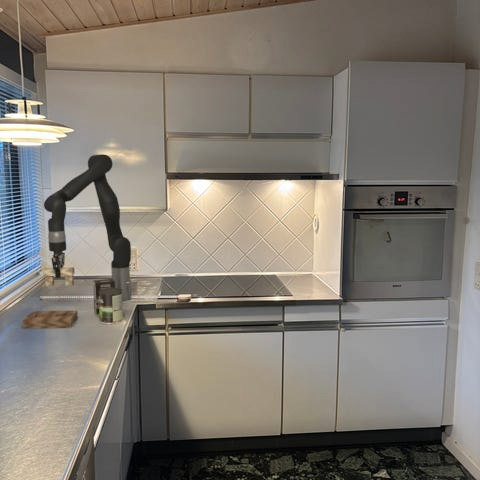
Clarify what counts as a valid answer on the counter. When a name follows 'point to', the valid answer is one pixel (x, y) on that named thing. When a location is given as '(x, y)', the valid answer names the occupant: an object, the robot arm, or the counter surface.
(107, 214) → the robot arm
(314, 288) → the counter surface
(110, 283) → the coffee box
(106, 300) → the coffee can
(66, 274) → the beige wooden plank
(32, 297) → the counter surface
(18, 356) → the counter surface
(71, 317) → the brown slotted wooden block
